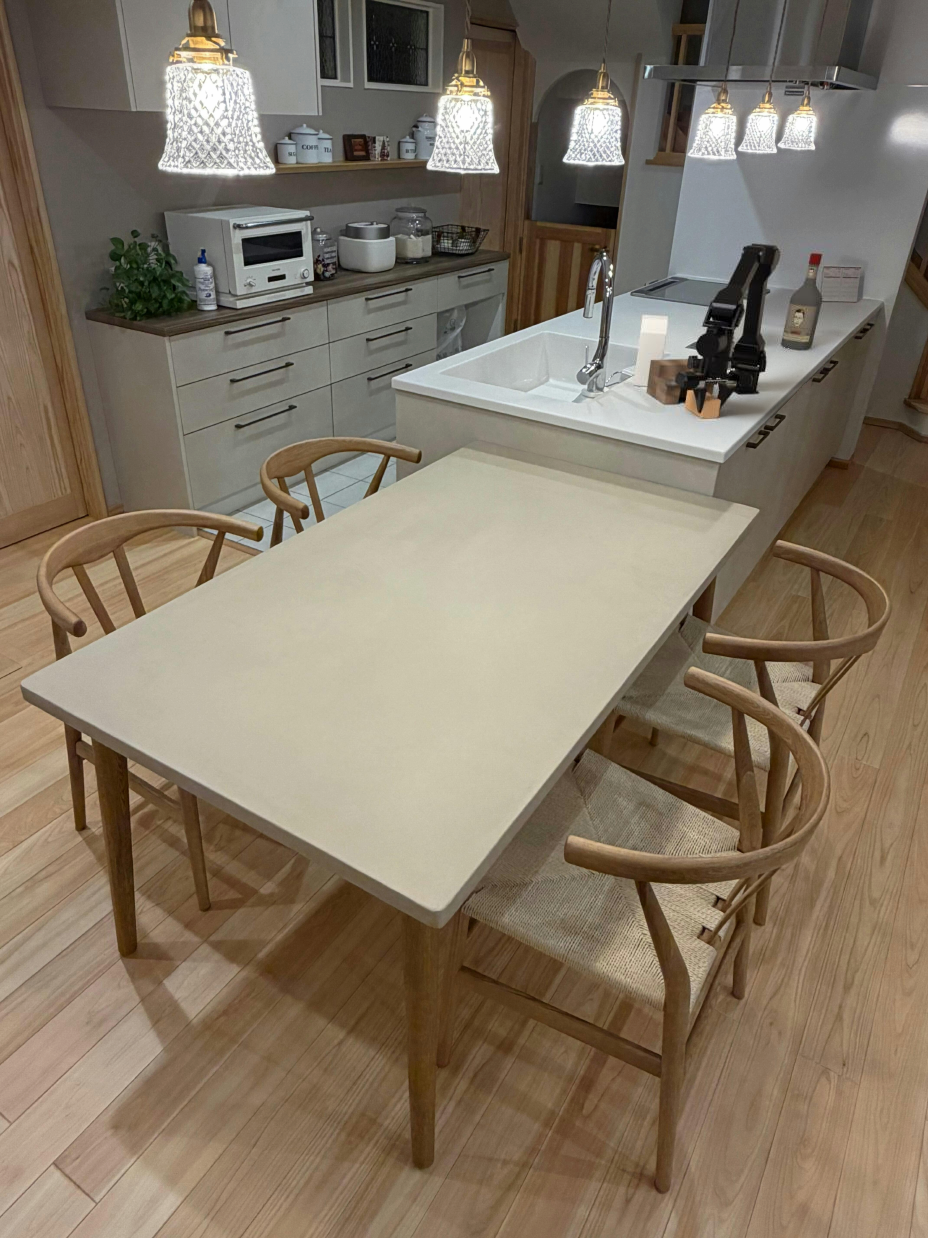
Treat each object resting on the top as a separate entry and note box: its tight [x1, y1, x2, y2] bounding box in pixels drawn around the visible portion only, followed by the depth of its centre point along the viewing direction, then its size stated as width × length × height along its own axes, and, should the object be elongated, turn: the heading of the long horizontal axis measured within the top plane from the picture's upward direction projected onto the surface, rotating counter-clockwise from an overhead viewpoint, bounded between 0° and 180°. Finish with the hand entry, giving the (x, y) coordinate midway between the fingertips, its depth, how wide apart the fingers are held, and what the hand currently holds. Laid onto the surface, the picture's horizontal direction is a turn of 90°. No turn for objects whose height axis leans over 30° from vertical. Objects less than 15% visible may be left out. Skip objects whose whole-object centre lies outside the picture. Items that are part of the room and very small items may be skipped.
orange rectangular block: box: [684, 390, 721, 419], centre depth 220 cm, size 4×10×4 cm, turn 12°
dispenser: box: [646, 358, 718, 406], centre depth 230 cm, size 15×13×9 cm
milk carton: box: [633, 314, 669, 387], centre depth 240 cm, size 7×7×19 cm
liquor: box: [780, 252, 823, 351], centre depth 285 cm, size 9×9×30 cm
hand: (707, 412), depth 217 cm, fingers closed on orange rectangular block, 4 cm apart
